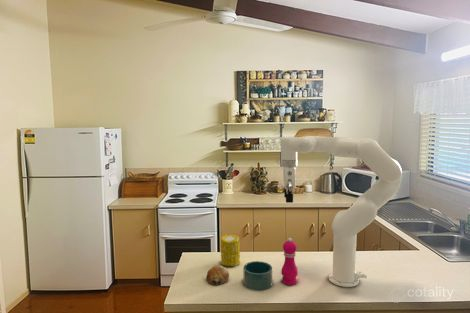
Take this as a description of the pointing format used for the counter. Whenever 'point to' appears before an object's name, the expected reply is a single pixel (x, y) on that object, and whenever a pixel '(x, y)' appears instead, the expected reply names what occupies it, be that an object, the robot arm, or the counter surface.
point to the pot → (257, 275)
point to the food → (230, 250)
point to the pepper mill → (289, 263)
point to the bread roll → (217, 275)
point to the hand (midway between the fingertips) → (288, 199)
